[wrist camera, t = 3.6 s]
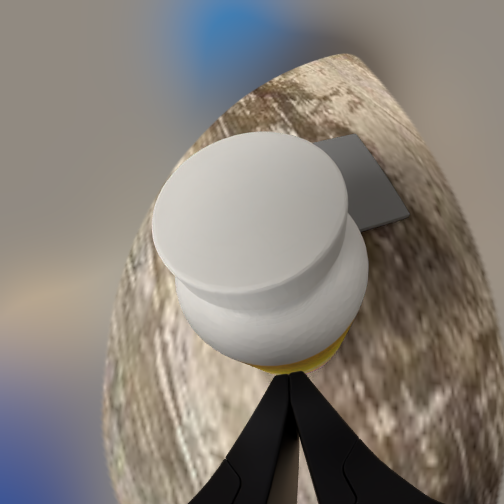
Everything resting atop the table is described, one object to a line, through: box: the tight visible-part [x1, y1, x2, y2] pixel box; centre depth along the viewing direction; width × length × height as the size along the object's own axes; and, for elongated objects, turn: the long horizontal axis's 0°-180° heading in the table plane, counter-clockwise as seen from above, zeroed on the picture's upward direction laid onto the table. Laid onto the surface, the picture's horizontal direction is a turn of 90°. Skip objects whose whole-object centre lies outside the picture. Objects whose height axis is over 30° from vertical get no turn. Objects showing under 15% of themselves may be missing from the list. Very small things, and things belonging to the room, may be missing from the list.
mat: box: [313, 134, 410, 232], centre depth 22 cm, size 10×13×1 cm
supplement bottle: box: [152, 132, 368, 375], centre depth 12 cm, size 7×7×13 cm
